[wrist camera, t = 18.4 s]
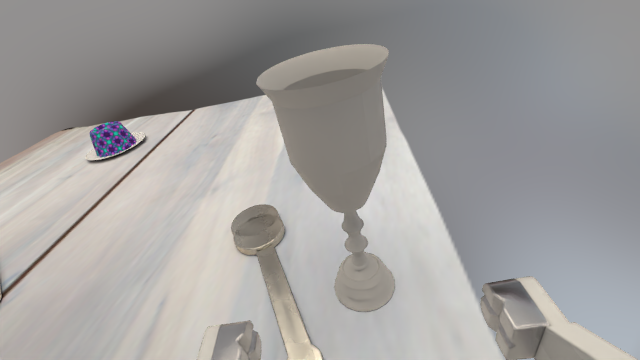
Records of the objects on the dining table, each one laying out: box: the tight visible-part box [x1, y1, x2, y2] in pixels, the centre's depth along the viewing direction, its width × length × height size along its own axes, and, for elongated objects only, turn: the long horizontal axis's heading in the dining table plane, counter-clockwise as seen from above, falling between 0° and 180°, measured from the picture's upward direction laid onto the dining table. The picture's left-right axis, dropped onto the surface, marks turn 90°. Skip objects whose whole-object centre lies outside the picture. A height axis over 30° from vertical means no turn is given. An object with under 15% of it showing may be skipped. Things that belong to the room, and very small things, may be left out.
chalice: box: [256, 44, 395, 312], centre depth 21 cm, size 7×7×18 cm
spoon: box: [231, 205, 324, 360], centre depth 28 cm, size 21×5×1 cm, turn 22°
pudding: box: [86, 121, 145, 160], centre depth 64 cm, size 12×12×5 cm
